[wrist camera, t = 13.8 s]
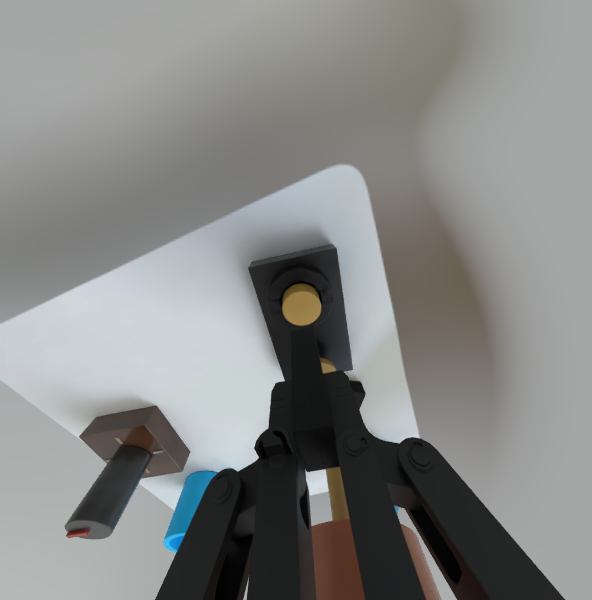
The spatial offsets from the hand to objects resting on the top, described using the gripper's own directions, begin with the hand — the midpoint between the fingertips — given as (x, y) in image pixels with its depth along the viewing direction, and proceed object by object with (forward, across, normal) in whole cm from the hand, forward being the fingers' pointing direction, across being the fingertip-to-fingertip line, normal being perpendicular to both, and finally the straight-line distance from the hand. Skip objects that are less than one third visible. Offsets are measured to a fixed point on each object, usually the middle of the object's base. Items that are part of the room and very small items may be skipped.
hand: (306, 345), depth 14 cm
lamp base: (+11, 0, -4) cm, 12 cm away
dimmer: (+8, -30, -20) cm, 37 cm away
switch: (+8, 0, 0) cm, 8 cm away
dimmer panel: (+11, -30, -20) cm, 38 cm away
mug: (+11, -24, -36) cm, 45 cm away
